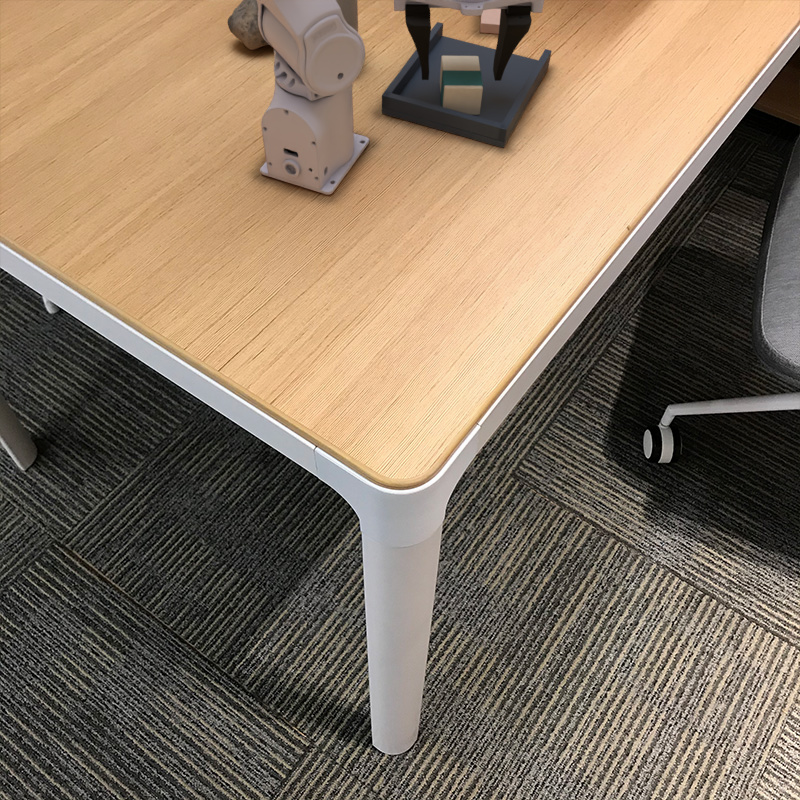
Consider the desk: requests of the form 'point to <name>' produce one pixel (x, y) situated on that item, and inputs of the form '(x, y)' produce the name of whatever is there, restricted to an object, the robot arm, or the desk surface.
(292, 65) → the robot arm
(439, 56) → the tray
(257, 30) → the stone
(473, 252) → the desk surface
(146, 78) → the desk surface
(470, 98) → the eraser
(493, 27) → the pink flat block
